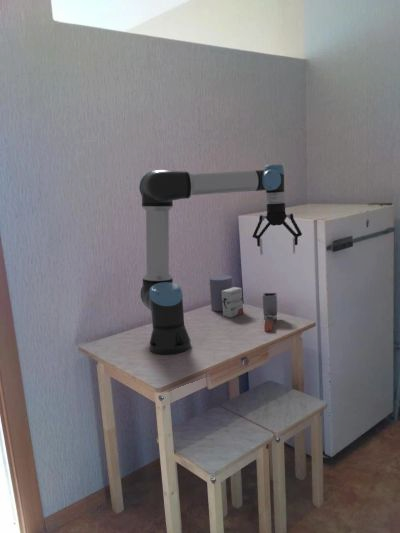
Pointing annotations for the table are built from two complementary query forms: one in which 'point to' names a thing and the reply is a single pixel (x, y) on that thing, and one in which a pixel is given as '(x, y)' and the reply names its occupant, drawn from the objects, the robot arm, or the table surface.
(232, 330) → the table surface
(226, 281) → the container
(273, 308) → the socket
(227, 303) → the ink box
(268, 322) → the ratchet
